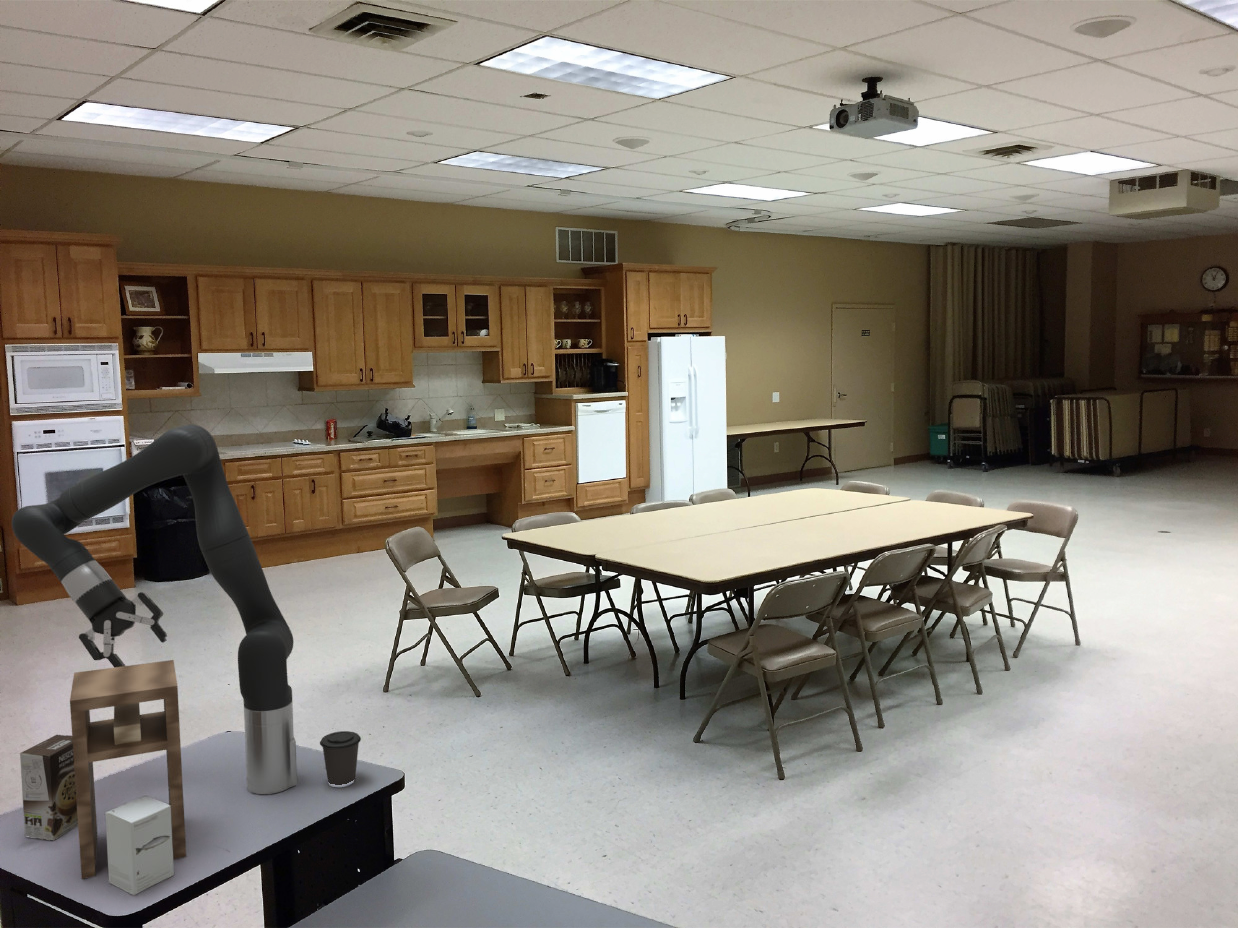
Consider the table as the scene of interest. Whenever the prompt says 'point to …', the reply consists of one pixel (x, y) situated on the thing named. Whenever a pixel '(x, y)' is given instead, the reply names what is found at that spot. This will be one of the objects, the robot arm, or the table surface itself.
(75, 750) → the walnut rack
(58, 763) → the coffee box
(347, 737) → the coffee cup
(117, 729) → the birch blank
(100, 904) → the table surface
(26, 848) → the table surface
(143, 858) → the supplement box
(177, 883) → the table surface
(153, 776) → the table surface
